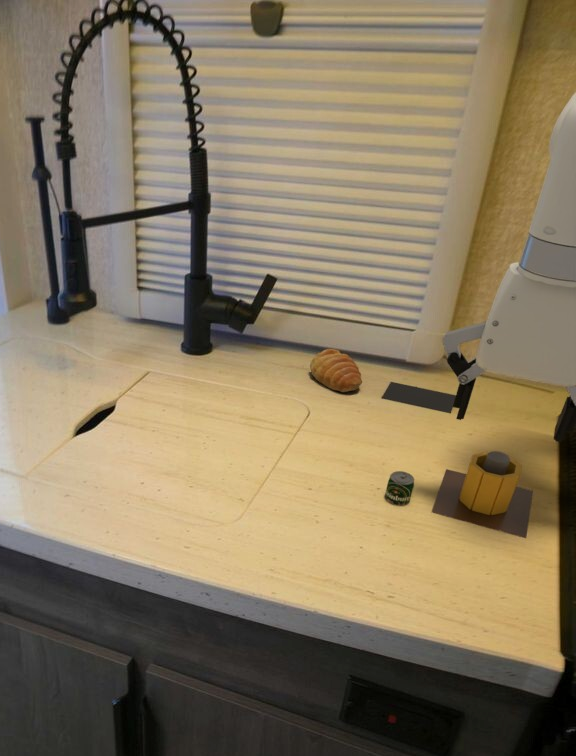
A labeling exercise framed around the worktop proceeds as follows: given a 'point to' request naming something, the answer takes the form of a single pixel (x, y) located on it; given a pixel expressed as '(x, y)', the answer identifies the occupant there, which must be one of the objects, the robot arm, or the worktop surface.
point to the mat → (419, 397)
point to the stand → (505, 522)
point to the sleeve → (489, 487)
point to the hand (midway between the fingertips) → (508, 425)
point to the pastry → (336, 370)
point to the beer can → (399, 488)
